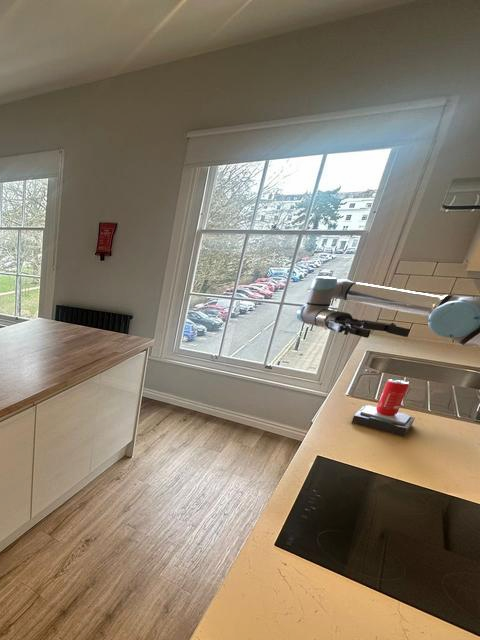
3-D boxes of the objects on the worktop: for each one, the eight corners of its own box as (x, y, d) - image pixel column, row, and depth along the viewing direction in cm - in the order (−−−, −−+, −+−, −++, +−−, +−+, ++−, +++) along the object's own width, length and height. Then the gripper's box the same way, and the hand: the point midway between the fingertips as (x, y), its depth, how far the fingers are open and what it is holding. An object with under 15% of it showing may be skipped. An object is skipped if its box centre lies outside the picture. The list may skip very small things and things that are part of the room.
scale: (411, 425, 137) (415, 415, 136) (403, 436, 130) (407, 426, 129) (361, 412, 147) (365, 403, 146) (351, 422, 140) (354, 413, 139)
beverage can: (382, 416, 136) (395, 383, 132) (371, 409, 141) (383, 378, 137) (400, 417, 135) (414, 384, 131) (388, 410, 140) (401, 379, 136)
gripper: (362, 329, 159) (419, 343, 139) (300, 330, 159) (348, 344, 139) (369, 310, 156) (428, 322, 136) (306, 311, 156) (356, 323, 136)
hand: (388, 333), depth 137 cm, fingers open, 13 cm apart
